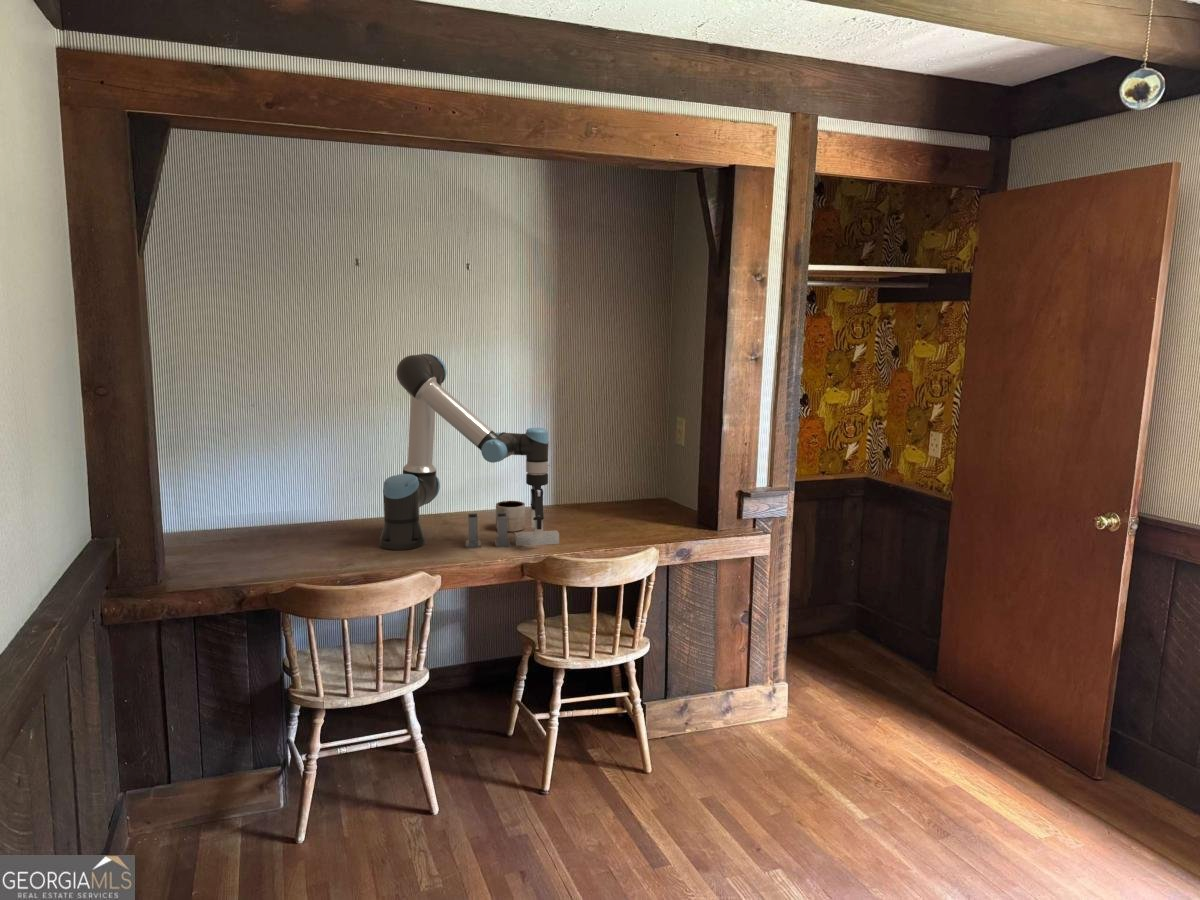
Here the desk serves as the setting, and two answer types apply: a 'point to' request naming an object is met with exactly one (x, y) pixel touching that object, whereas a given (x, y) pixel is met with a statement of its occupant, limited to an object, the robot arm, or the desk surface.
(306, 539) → the desk surface
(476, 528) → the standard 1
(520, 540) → the rail
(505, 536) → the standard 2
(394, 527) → the robot arm
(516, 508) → the planter
